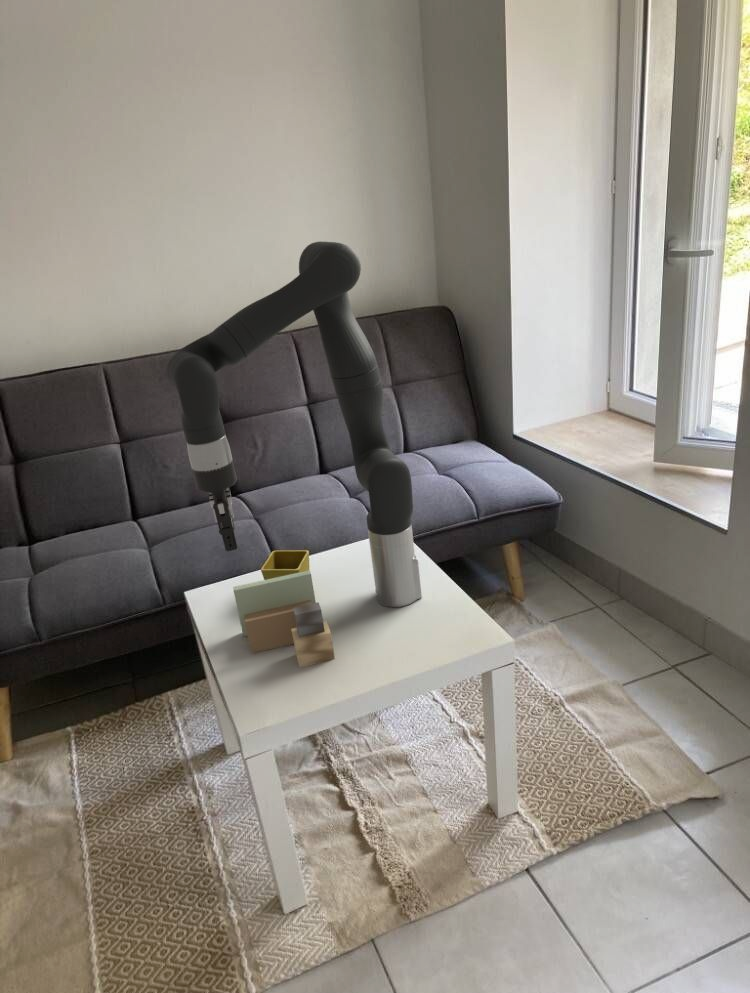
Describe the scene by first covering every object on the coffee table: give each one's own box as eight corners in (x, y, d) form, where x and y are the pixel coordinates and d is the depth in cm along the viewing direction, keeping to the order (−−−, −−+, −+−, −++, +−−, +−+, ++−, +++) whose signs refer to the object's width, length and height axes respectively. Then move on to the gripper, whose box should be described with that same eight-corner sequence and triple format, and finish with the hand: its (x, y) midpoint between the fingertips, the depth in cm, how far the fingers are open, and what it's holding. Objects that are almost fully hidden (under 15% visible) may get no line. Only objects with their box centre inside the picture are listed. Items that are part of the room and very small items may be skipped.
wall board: (317, 615, 168) (309, 570, 164) (324, 636, 160) (316, 589, 156) (242, 632, 165) (233, 587, 161) (246, 654, 158) (236, 607, 153)
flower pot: (304, 605, 173) (298, 569, 169) (266, 605, 175) (259, 569, 171) (315, 584, 180) (309, 550, 177) (279, 584, 182) (272, 550, 179)
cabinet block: (330, 646, 157) (322, 598, 153) (334, 658, 153) (327, 610, 148) (295, 654, 156) (287, 606, 151) (299, 667, 152) (290, 618, 147)
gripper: (234, 470, 137) (253, 551, 143) (230, 444, 150) (247, 520, 156) (191, 479, 136) (212, 561, 142) (190, 452, 149) (209, 529, 155)
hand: (230, 540), depth 149 cm, fingers open, 8 cm apart
